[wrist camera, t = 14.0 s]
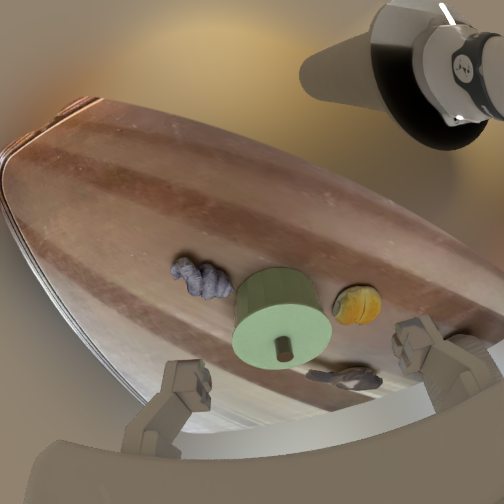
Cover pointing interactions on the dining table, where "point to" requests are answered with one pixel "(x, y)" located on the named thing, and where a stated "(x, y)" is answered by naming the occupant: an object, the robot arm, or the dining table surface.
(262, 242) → the dining table surface
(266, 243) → the dining table surface
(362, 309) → the bread roll
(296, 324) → the pot lid
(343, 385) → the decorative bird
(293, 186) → the dining table surface
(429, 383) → the vase
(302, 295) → the pot
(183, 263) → the seashell
